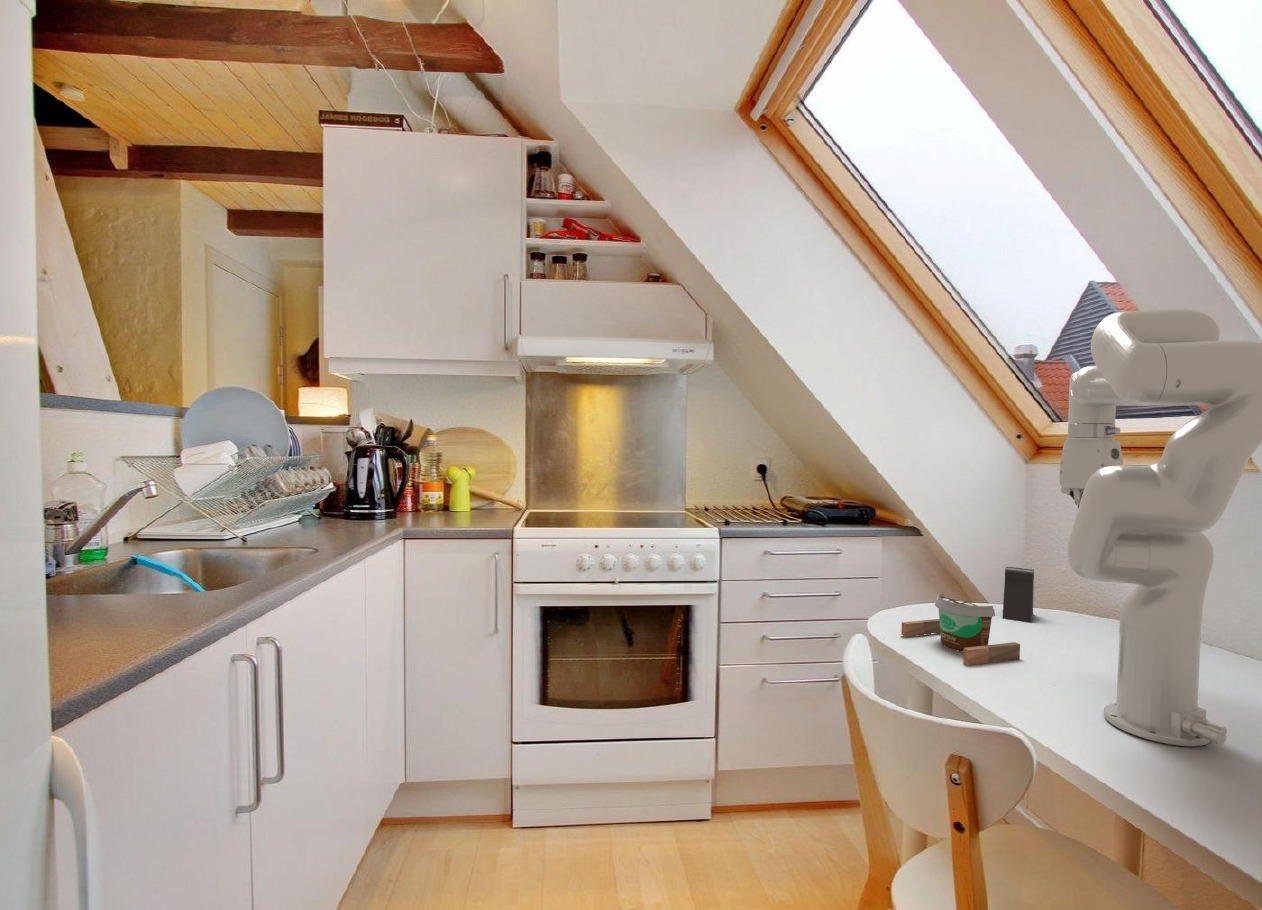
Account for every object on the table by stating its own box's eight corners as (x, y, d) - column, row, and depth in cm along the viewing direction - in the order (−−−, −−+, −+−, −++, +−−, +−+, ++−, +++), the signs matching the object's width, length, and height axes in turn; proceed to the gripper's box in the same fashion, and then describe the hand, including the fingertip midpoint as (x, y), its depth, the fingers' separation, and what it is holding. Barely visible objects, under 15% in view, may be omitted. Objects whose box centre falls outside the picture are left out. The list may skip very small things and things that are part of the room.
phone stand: (1005, 610, 161) (1007, 563, 161) (1033, 614, 158) (1034, 566, 157) (1002, 618, 154) (1003, 569, 153) (1031, 622, 150) (1032, 573, 150)
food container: (921, 640, 136) (922, 595, 136) (939, 636, 139) (941, 592, 139) (974, 659, 126) (976, 609, 125) (994, 654, 128) (995, 606, 128)
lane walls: (1019, 658, 126) (1020, 643, 126) (968, 665, 122) (968, 649, 122) (948, 630, 144) (948, 617, 143) (901, 635, 140) (901, 622, 140)
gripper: (1145, 433, 118) (1141, 530, 119) (1068, 433, 132) (1065, 519, 133) (1116, 433, 116) (1112, 532, 117) (1041, 432, 130) (1038, 520, 131)
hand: (1087, 525), depth 125 cm, fingers closed
